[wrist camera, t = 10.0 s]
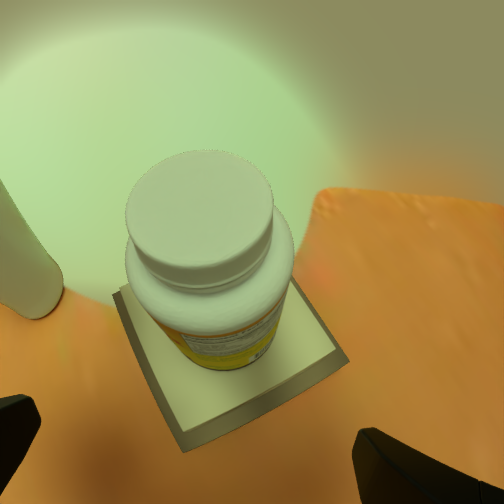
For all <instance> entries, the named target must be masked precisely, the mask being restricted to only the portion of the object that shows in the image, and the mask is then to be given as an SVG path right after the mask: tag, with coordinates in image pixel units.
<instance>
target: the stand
mask: <svg viewBox="0 0 504 504" xmlns="http://www.w3.org/2000/svg"><path fill="white" fill-rule="evenodd" d="M112 296H113V299H114V301H115V304H116V307H117V310H118V313H119V315H120V318H121V321H122V323H123V326H124V328H125V331H126V334H127V336H128V339H129V341H130V344H131V346H132V349H133V351H134V353H135V356H136V358H137V360H138V363H139V365H140V367H141V370H142V372H143V374H144V377H145V379H146V381H147V383H148V385H149V387H150V390H151V392H152V394H153V396H154V398H155V400H156V402H157V404H158V406H159V408H160V410H161V412H162V414H163V416H164V418H165V420H166V422H167V424H168V426H169V428H170V430H171V432H172V434H173V436H174V438H175V439H176V441H177V443H178V445H179V447H180V449H181V450H182V452H183V453H185V452H187V451H190V450H192V449H194V448H196V447H199V446H201V445H203V444H205V443H207V442H210V441H212V440H214V439H216V438H218V437H220V436H222V435H224V434H226V433H229V432H231V431H233V430H235V429H237V428H239V427H241V426H242V425H244V424H246V423H248V422H250V421H252V420H254V419H256V418H258V417H260V416H261V415H263V414H265V413H267V412H269V411H271V410H272V409H274V408H276V407H278V406H280V405H281V404H283V403H285V402H287V401H288V400H290V399H292V398H293V397H295V396H297V395H298V394H300V393H302V392H303V391H305V390H307V389H308V388H310V387H312V386H313V385H315V384H317V383H318V382H320V381H321V380H323V379H324V378H326V377H328V376H329V375H331V374H332V373H334V372H335V371H337V370H338V369H340V368H341V367H343V366H344V365H346V364H347V363H348V362H350V361H349V359H348V358H347V356H346V355H345V353H344V352H343V350H342V349H341V347H340V346H339V344H338V343H337V341H336V340H335V338H334V337H333V335H332V334H331V332H330V331H329V329H328V328H327V326H326V325H325V323H324V322H323V320H322V319H321V317H320V316H319V315H318V313H317V312H316V310H315V309H314V307H313V306H312V304H311V303H310V301H309V300H308V298H307V297H306V295H305V294H304V292H303V291H302V289H301V288H300V287H299V285H298V284H297V282H296V281H295V279H294V278H293V276H292V275H291V279H290V283H289V287H288V291H287V294H286V298H285V302H284V306H283V310H282V314H281V317H280V321H279V324H278V328H277V331H276V334H275V337H274V339H273V341H272V343H271V345H270V347H269V348H268V350H267V351H266V352H265V353H264V355H263V356H261V357H260V358H259V359H258V360H257V361H256V362H254V363H252V364H251V365H249V366H247V367H244V368H242V369H238V370H234V371H227V372H222V371H213V370H209V369H206V368H203V367H201V366H198V365H197V364H195V363H193V362H192V361H191V360H189V359H188V358H187V357H186V356H185V355H184V354H183V353H182V352H181V351H180V350H179V349H178V348H177V346H176V345H175V344H174V343H173V342H172V341H171V340H170V339H169V337H168V336H167V335H166V334H165V333H164V331H163V330H162V329H161V328H160V327H159V326H158V325H157V324H156V322H155V321H154V320H153V319H152V318H151V316H150V315H149V314H148V313H147V312H146V311H145V309H144V308H143V307H142V305H141V304H140V303H139V301H138V300H137V298H136V297H135V295H134V293H133V291H132V289H131V287H130V284H129V283H128V284H126V285H124V286H122V287H120V291H118V292H116V293H114V294H113V295H112Z"/></svg>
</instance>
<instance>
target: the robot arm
mask: <svg viewBox="0 0 504 504" xmlns="http://www.w3.org/2000/svg"><path fill="white" fill-rule="evenodd" d="M40 426H41V417H40V415H39V412H38V410H37V407H36V405H35V403H34V400H33V399H32V398H31V397H29V396H26V395H23V394H18V395H13V396H9V397H4V398H0V496H1V494H2V492H3V491H4V489H5V487H6V486H7V484H8V483H9V481H10V479H11V478H12V476H13V475H14V473H15V472H16V470H17V468H18V467H19V465H20V464H21V462H22V461H23V459H24V457H25V455H26V453H27V451H28V449H29V447H30V445H31V443H32V441H33V439H34V437H35V436H36V434H37V432H38V430H39V428H40ZM352 460H353V465H354V470H355V475H356V480H357V485H358V490H359V495H360V499H361V502H362V504H504V490H503V489H500V488H498V487H495V486H493V485H490V484H488V483H486V482H483V481H479V480H478V479H475V478H473V477H471V476H469V475H466V474H464V473H462V472H460V471H458V470H456V469H454V468H452V467H449V466H447V465H445V464H443V463H441V462H439V461H437V460H435V459H433V458H431V457H429V456H427V455H425V454H423V453H421V452H419V451H417V450H415V449H413V448H412V447H410V446H408V445H406V444H404V443H402V442H400V441H398V440H397V439H395V438H393V437H391V436H389V435H387V434H386V433H384V432H382V431H380V430H378V429H377V428H374V427H371V428H363V429H360V430H359V431H358V434H357V437H356V440H355V443H354V446H353V449H352Z"/></svg>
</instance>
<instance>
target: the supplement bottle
mask: <svg viewBox="0 0 504 504" xmlns="http://www.w3.org/2000/svg"><path fill="white" fill-rule="evenodd" d="M273 202H274V199H273V194H272V190H271V187H270V185H269V183H268V181H267V179H266V178H265V176H264V175H263V173H262V172H261V171H260V170H259V169H258V168H257V167H256V166H255V165H253V164H252V163H251V162H249V161H248V160H246V159H244V158H242V157H240V156H237V155H235V154H232V153H229V152H225V151H218V150H194V151H189V152H184V153H180V154H177V155H174V156H172V157H169V158H167V159H165V160H163V161H161V162H159V163H158V164H156V165H155V166H153V167H152V168H151V169H150V170H148V171H147V172H146V173H145V174H144V175H143V176H142V177H141V178H140V179H139V181H138V182H137V183H136V185H135V186H134V188H133V189H132V191H131V193H130V196H129V198H128V201H127V205H126V211H125V218H126V226H127V229H128V233H129V238H128V242H127V247H126V253H125V267H126V273H127V278H128V282H129V284H130V287H131V289H132V291H133V293H134V295H135V297H136V298H137V300H138V301H139V303H140V304H141V305H142V307H143V308H144V309H145V311H146V312H147V313H148V314H149V315H150V316H151V318H152V319H153V320H154V321H155V322H156V324H157V325H158V326H159V327H160V328H161V329H162V330H163V331H164V333H165V334H166V335H167V336H168V337H169V339H170V340H171V341H172V342H173V343H174V344H175V345H176V346H177V348H178V349H179V350H180V351H181V352H182V353H183V354H184V355H185V356H186V357H187V358H188V359H189V360H191V361H192V362H193V363H195V364H197V365H198V366H201V367H203V368H206V369H209V370H213V371H222V372H227V371H234V370H238V369H242V368H244V367H247V366H249V365H251V364H252V363H254V362H256V361H257V360H258V359H259V358H260V357H261V356H263V355H264V353H265V352H266V351H267V350H268V348H269V347H270V345H271V343H272V341H273V339H274V337H275V334H276V331H277V328H278V324H279V321H280V317H281V314H282V310H283V306H284V302H285V298H286V294H287V291H288V287H289V283H290V279H291V275H292V271H293V265H294V243H293V238H292V234H291V231H290V228H289V226H288V224H287V222H286V220H285V218H284V217H283V215H282V214H281V212H280V211H279V210H278V208H277V207H276V206H275V205H274V203H273Z"/></svg>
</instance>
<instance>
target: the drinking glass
mask: <svg viewBox="0 0 504 504" xmlns="http://www.w3.org/2000/svg"><path fill="white" fill-rule="evenodd" d="M62 290H63V275H62V272H61V269H60V268H59V266H58V264H57V263H56V262H55V261H54V260H53V259H52V258H51V257H50V255H49V254H48V253H47V252H46V250H45V249H44V248H43V246H42V245H41V243H40V242H39V241H38V239H37V238H36V236H35V235H34V233H33V232H32V230H31V229H30V227H29V226H28V224H27V223H26V221H25V220H24V218H23V217H22V215H21V213H20V212H19V210H18V208H17V207H16V205H15V204H14V202H13V200H12V198H11V197H10V195H9V193H8V192H7V190H6V188H5V186H4V185H3V183H2V181H1V180H0V303H2V304H3V305H5V306H7V307H9V308H10V309H12V310H13V311H15V312H16V313H18V314H19V315H21V316H23V317H25V318H28V319H38V318H41V317H43V316H45V315H47V314H48V313H49V312H51V311H52V310H53V308H54V307H55V306H56V304H57V303H58V301H59V299H60V297H61V294H62Z"/></svg>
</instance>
